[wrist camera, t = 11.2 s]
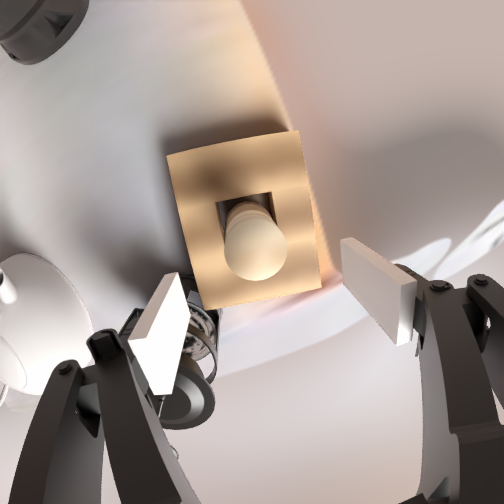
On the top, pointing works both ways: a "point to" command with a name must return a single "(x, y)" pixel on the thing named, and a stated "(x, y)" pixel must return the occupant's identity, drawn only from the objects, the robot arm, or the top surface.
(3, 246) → the top surface
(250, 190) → the board
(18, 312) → the kettle
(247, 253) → the peg
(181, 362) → the french press
